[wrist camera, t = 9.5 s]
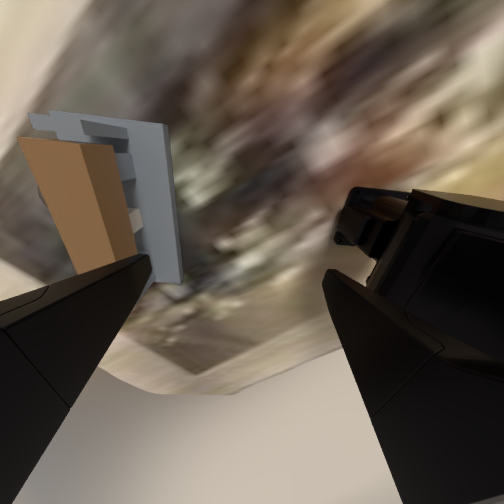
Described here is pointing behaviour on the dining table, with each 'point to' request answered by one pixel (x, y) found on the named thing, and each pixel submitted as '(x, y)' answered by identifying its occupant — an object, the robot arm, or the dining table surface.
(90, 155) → the brown rectangular block
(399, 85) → the dining table surface
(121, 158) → the display cradle
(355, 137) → the dining table surface
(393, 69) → the dining table surface
